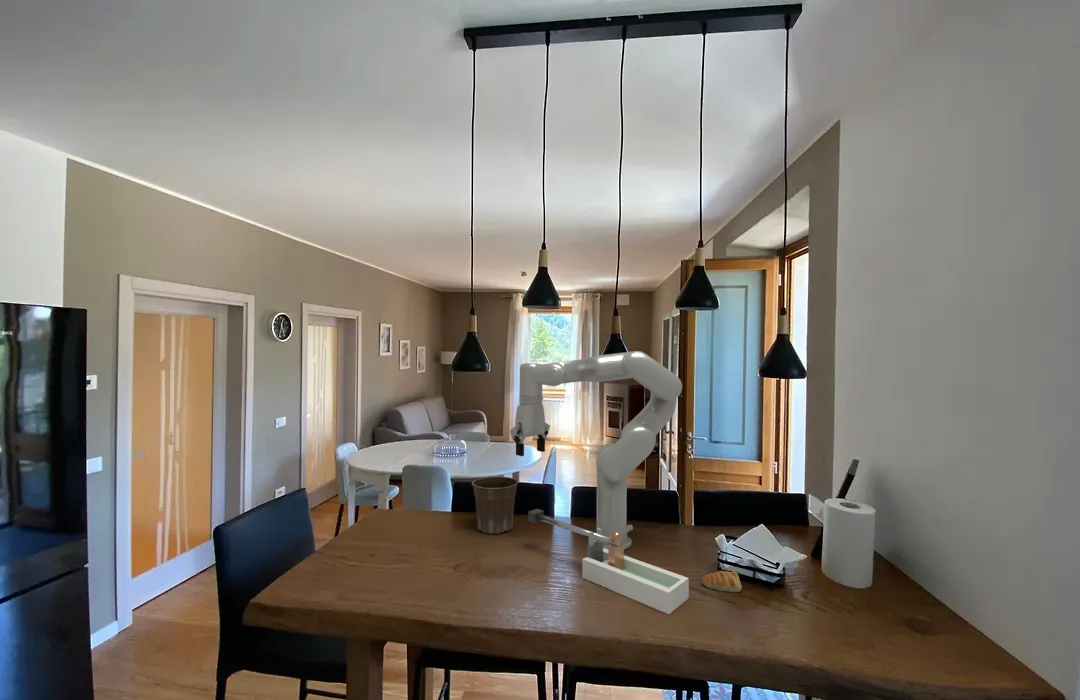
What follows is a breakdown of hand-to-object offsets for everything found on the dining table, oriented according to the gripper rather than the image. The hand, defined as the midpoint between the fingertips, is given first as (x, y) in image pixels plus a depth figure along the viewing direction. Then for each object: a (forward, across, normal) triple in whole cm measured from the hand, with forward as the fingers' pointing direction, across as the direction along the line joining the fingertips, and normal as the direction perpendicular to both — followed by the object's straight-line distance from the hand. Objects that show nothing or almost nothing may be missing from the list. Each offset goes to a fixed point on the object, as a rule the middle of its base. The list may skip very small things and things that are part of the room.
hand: (530, 453), depth 149 cm
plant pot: (+28, +1, -17) cm, 33 cm away
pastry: (+29, -14, +57) cm, 66 cm away
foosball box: (+28, +3, +41) cm, 50 cm away
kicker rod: (+25, +3, +20) cm, 33 cm away
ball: (+28, +3, +33) cm, 43 cm away
